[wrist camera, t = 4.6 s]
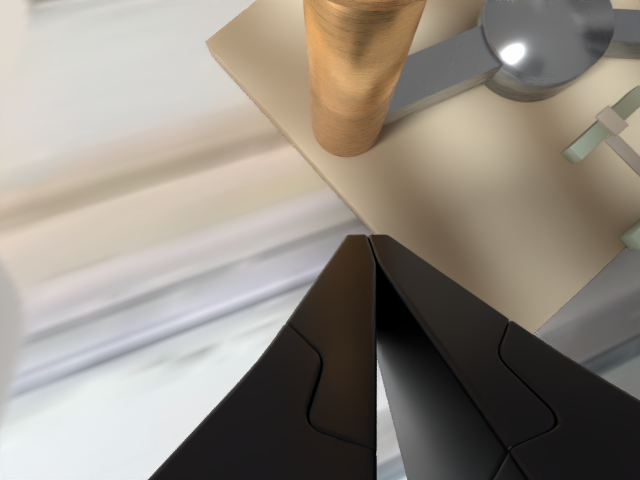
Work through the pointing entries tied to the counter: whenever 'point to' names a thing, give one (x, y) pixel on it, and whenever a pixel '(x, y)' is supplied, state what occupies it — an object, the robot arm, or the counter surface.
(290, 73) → the wooden cutting board
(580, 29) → the capstan
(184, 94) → the counter surface
